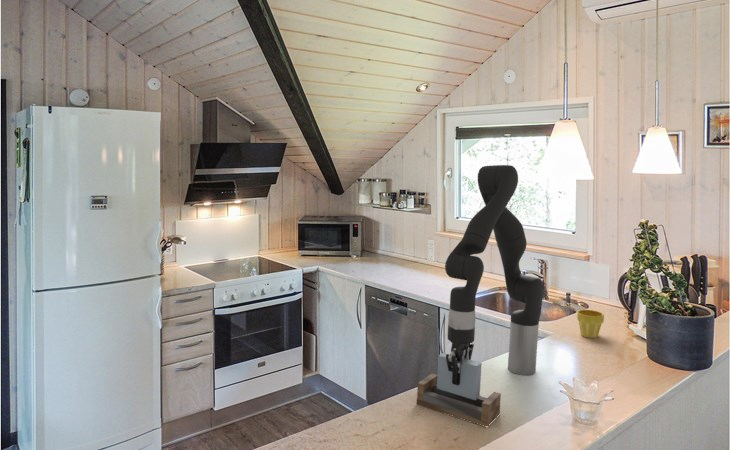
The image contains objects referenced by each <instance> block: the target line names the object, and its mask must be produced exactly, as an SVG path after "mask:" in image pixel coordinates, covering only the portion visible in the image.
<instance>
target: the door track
mask: <svg viewBox="0 0 730 450" xmlns="http://www.w3.org/2000/svg"><path fill="white" fill-rule="evenodd" d="M437 378H438V374H435V373H431V374H429V375H427V376H426V377H425V378H423V379H421V380H420V381H419V382H417V392H416V394H417V396H416V397H417V398H416V405H418V406H421V407H424V408H427V409H430V410H432V411H436V412H438V411H439V412H438V413H441V412H442V414H444V413H446V414H445V415H447V414H449V415H448V416H450V415H453V416H455V417H454V418H456V417H459V418H462V419H465V420H468V421H471V422H473V423H472V424H474V423H478V424H481V425H484V426H489V424H490V423H491V422H492V421H493V420H494V419H495V418H497V416H498V415H499V414H500V415H501V397H502V393H500V392H497V391H493V392H492V393H491V394H490V395H488V396H487V397H484V396H482V395H480V397H479V398H477V399H476V400H473V399H469V398H466V397H463V396H460V395H457V394H453V393H450V392H447V391H444V390H440V389H437ZM500 415H499V416H500ZM453 416H452V417H453ZM499 416H498V417H499ZM459 418H458V419H459ZM462 419H461V420H462ZM465 420H464V421H465ZM468 421H467V422H468ZM471 422H470V423H471ZM489 427H490V426H489Z"/></svg>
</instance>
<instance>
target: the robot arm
mask: <svg viewBox="0 0 730 450" xmlns="http://www.w3.org/2000/svg"><path fill="white" fill-rule="evenodd" d="M518 183H519V175H518V170H517V169H516V167H514V166H513V165H510V164H495V165H494V164H493V165H484V166H482V167H480V168H479V169H478V172H477V186H478V189H479V193H480V195H481V198H482V200H483V203H484V207H482V208H481V209H480V210H479V211H478V212H477V213H475V214H474V215H473V217H472V218H471V219H470V221H469V223H468V225H466V229H465V232H464V234H463V236H462V238H461V240H460V241H459V242H458V244H457V245H456V246H455V247H454V249H453V250H452V251H451V252H450V253H449V255H448V256H447V258H446V261H445V265H444V269H445V273H446V275H447V276H448V277H450V278H452V279H456V280H462V281H466V283H465V285H464V286H456V287H453V288H452V289H451V290H450V296H449V310H448V311H449V312H448V321H447V340H448V341H449V342H451V348H450V353H446V354H447V355H446V361H447V366H448V371H451V372H452V384H454V385H459V384H460V372H461V365H463V362H464V358H465V359H469V360H472V356H473V355H472V354H473V351H474V346H475V344H473V343H474V342H475V335H476V334H475V333H476V331H475V329H476V298H477V297H476V296H477V293H478V289H479V285H480V283H481V279H482V277H483V274H484V270H485V265H484V262H483V260H482V259H481V258H480V257H479V256H476V255H479V254H482V253H484V252H485V250H486V247H487V245H488V243H489V240H490V238H491V236H492V232H493V234H494V238H495V242H496V245H497V249H498V251H499V257H500V259H501V264H502V268H503V274H504V280H505V285H506V286H505V287H506V291H507V294H508V296H509V298H510V299H512V300H513V301H516V302H520V303H524V304H525V305H524V306H525V307H524V309H518V310H514V311H512V312H511V314H510V327H509V342H508V343H509V344H508V357H507V369H508V371H509V372H511V373H512V374H516V375H520V376H531V375H535V374H536V369H537V355H538V354H537V353H538V339H539V323H540V318H541V313H542V305H543V298H544V291H545V290H544V282H543V281H542V279H541V278H539V277H535V276H531V275H526V274H523V273H522V271H521V268H520V261H521V260H522V259H521V258H522V257H523V255H524V254H525V251H526V249H527V246H528V245H527V238H526V234H525V229H524V226H523V224H522V222H521V221H520V219H518V218H517V216H516V215H515V214H514V213H513V212H512V211H511V210H510V209H509V208H508V207H507V206H508V204H509V202H510V200H511V199H512V198H513V196H514V194H515V192H516V190H517V187H518ZM449 354H450V355H449ZM456 360H459V361H460V362H459V361H456ZM457 365H458V367H457Z"/></svg>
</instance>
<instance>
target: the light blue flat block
mask: <svg viewBox="0 0 730 450" xmlns="http://www.w3.org/2000/svg"><path fill="white" fill-rule="evenodd" d="M447 354H449V355H450V353H447V352H442V353H440V354H439V355H438V359H437V360H438V361H437V375H438V378H437V389H440V390H444V391H447V392H450V393H453V394H457V395H460V396H463V397H466V398H469V399H473V400H476V399H477V398H479V397H480V396H481V379H482V377H481V376H482V362H480V361H476V360H472V359H471V360H469V359H465V358H464V362H463V365H461V372H460V384H459V385H454V384H452V372H451V371H448V366H447V361H446V355H447ZM456 361H459V360H456ZM459 362H460V361H459ZM457 367H458V365H457Z"/></svg>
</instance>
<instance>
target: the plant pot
mask: <svg viewBox="0 0 730 450" xmlns="http://www.w3.org/2000/svg"><path fill="white" fill-rule="evenodd" d="M576 319H577V321H578V325H579V331H580V335H581V336H582V337H585V338H589V339H595V338H598V337H599V335H600V331H601V327H602V325H603V323H604V320H605V314H604V313H603V312H602V311H598V310H593V309H579V310H577V312H576Z"/></svg>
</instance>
